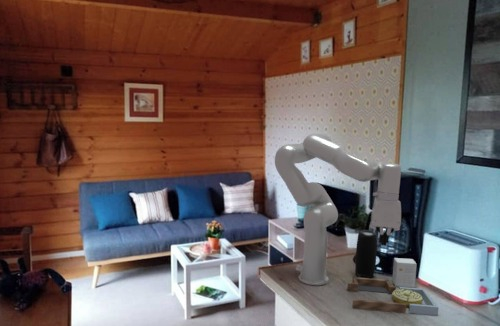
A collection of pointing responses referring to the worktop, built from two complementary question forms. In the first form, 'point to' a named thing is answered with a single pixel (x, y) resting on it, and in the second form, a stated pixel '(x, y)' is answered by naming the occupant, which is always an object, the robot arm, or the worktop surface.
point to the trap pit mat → (372, 289)
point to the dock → (423, 309)
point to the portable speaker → (366, 254)
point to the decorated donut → (407, 297)
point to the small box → (404, 272)
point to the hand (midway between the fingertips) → (383, 244)
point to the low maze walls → (375, 304)
